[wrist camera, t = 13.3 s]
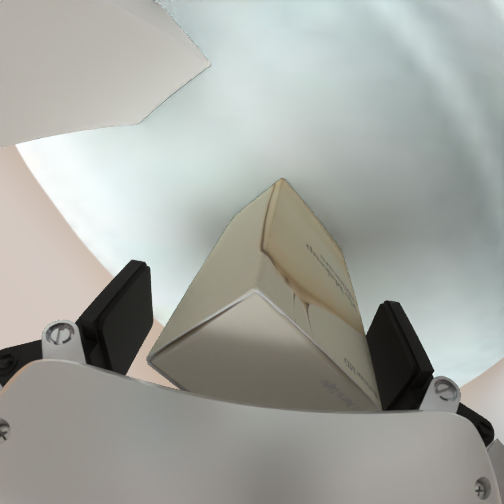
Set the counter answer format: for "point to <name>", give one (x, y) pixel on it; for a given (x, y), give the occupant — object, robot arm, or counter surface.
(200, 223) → the counter surface
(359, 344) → the skincare box
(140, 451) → the robot arm
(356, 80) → the counter surface
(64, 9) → the milk
